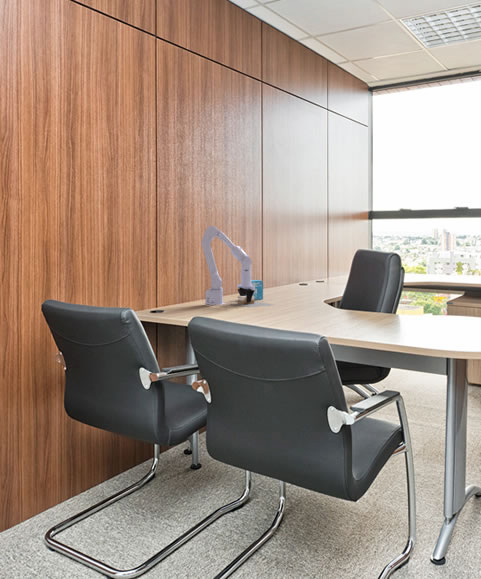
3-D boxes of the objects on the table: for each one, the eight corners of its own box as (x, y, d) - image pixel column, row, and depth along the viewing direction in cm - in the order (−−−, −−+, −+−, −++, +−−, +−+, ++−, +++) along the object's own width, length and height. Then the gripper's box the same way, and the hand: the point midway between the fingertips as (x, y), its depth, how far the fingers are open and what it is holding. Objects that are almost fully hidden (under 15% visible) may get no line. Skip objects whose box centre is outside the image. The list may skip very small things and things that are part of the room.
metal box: (242, 304, 306) (242, 297, 306) (237, 303, 310) (237, 296, 310) (254, 303, 311) (254, 296, 310) (249, 302, 315) (249, 295, 314)
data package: (245, 301, 324) (245, 281, 323) (242, 300, 328) (242, 280, 327) (263, 300, 330) (263, 280, 329) (259, 299, 334) (259, 279, 333)
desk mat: (248, 308, 295) (248, 307, 295) (230, 304, 309) (230, 303, 309) (274, 305, 305) (274, 304, 305) (256, 302, 319) (256, 301, 319)
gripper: (259, 278, 305) (259, 302, 307) (244, 276, 317) (244, 299, 319) (249, 278, 301) (249, 303, 303) (234, 277, 313) (234, 300, 315)
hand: (246, 301), depth 310 cm, fingers closed on metal box, 5 cm apart
